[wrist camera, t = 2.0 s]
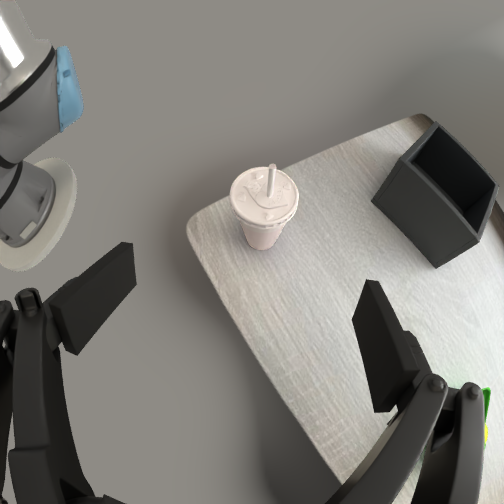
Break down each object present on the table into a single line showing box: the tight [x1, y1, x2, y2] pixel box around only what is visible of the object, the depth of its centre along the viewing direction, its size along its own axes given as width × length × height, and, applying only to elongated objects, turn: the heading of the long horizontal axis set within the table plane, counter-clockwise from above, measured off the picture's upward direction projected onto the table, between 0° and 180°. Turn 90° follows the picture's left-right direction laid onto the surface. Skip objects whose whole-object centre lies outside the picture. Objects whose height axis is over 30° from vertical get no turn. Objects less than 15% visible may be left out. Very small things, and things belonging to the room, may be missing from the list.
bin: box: [371, 122, 499, 269], centre depth 31 cm, size 14×14×10 cm
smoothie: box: [230, 164, 299, 250], centre depth 27 cm, size 6×6×14 cm
